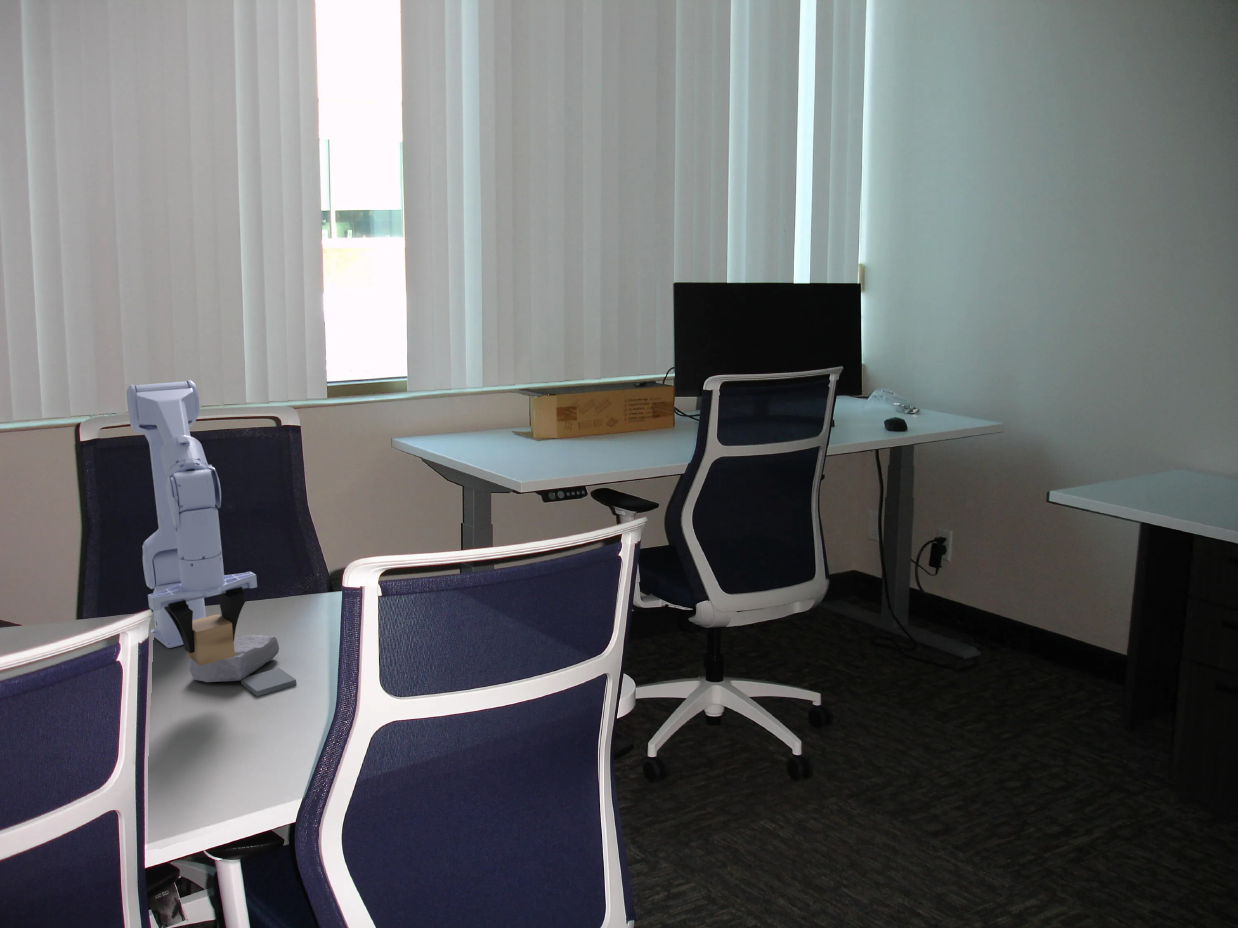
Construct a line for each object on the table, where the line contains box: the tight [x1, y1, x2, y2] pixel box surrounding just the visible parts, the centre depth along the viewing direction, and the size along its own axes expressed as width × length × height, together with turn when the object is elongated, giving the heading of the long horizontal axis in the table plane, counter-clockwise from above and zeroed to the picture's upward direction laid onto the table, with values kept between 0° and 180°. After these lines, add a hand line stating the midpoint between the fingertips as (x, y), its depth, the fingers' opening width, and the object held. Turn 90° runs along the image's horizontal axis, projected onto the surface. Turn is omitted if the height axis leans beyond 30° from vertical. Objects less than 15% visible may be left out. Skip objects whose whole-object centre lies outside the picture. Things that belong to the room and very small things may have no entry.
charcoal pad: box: [240, 667, 297, 697], centre depth 157 cm, size 6×6×1 cm
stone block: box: [189, 634, 280, 683], centre depth 162 cm, size 12×5×10 cm
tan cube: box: [186, 613, 235, 666], centre depth 149 cm, size 5×5×5 cm
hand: (209, 645), depth 150 cm, fingers closed on tan cube, 5 cm apart
